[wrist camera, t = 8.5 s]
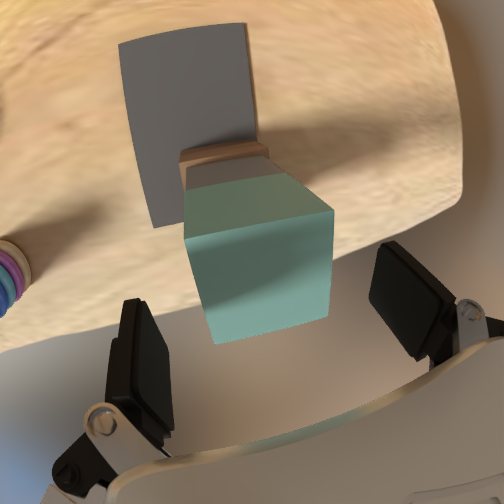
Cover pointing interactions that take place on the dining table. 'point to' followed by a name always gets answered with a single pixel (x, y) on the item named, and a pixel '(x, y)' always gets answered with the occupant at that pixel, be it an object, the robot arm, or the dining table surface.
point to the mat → (183, 104)
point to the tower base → (219, 154)
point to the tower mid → (230, 171)
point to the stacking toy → (12, 275)
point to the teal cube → (259, 254)
